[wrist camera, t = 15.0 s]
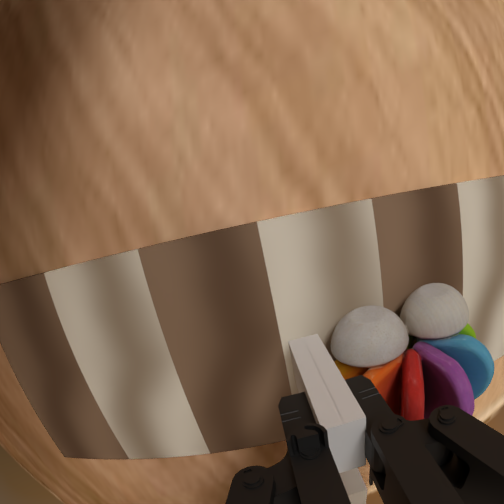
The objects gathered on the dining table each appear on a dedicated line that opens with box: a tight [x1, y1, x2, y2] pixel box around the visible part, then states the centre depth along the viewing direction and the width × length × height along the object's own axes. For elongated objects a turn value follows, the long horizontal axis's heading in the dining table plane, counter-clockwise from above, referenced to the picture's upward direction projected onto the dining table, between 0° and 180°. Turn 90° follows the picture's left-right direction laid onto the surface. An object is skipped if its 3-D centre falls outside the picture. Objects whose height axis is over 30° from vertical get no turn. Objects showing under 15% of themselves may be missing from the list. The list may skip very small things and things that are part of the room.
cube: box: [339, 468, 367, 504], centre depth 18 cm, size 4×4×4 cm
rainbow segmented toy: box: [330, 283, 494, 421], centre depth 14 cm, size 8×10×7 cm
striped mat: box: [0, 175, 504, 459], centre depth 17 cm, size 36×14×1 cm, turn 102°
